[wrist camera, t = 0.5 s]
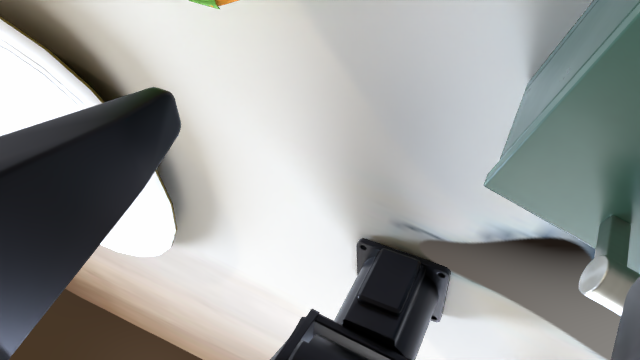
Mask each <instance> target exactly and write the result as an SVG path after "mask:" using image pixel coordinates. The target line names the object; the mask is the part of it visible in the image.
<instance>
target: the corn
mask: <svg viewBox="0 0 640 360" xmlns="http://www.w3.org/2000/svg"><path fill="white" fill-rule="evenodd" d="M189 1H192V2H195V3H199V4H202V5H206V6H209V7H213V8H216V9H219V7H218V6H221V5H225V4H228V3H231V2H235V1H238V0H189Z"/></svg>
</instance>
